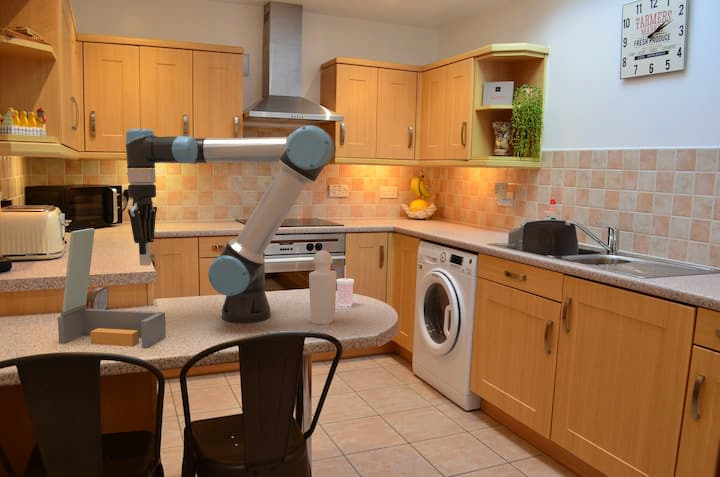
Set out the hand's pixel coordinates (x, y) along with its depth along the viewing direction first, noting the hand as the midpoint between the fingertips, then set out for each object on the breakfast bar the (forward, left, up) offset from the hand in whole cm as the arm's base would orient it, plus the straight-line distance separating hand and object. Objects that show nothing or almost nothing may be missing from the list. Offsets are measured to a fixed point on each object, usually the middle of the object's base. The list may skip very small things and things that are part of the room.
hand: (145, 265), depth 171 cm
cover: (+11, +15, 0) cm, 18 cm away
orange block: (0, +17, -19) cm, 25 cm away
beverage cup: (-53, -35, -19) cm, 66 cm away
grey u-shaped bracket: (+2, +15, -18) cm, 23 cm away
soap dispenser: (-50, -13, -19) cm, 55 cm away
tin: (+23, -11, -19) cm, 32 cm away
